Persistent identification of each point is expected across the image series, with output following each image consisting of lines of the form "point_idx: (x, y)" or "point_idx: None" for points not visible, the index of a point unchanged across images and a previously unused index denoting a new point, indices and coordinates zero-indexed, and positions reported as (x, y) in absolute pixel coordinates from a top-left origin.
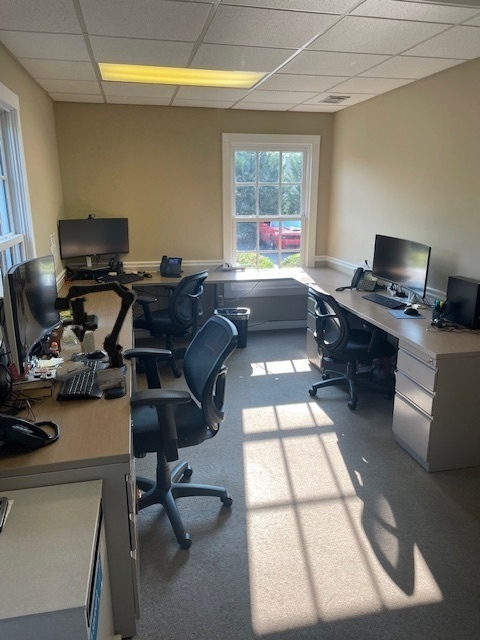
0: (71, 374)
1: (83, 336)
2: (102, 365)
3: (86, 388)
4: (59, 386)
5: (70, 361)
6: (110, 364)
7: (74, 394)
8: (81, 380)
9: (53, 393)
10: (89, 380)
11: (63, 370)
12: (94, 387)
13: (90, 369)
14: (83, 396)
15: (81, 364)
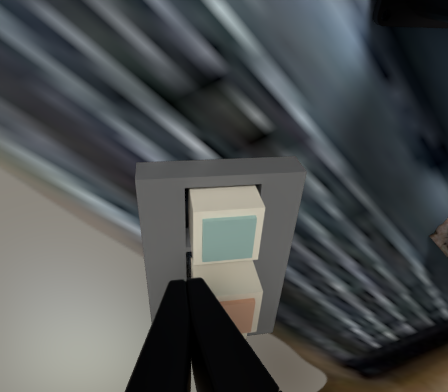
0: (279, 294)
1: (265, 384)
2: (303, 3)
3: (414, 301)
4: (291, 339)
5: (224, 307)
6: (419, 10)
7: (397, 341)
8: (340, 268)
9: (318, 368)
10: (380, 251)
11: (246, 334)
12: (443, 282)
13: (299, 162)
14: (437, 334)
15: (260, 224)
